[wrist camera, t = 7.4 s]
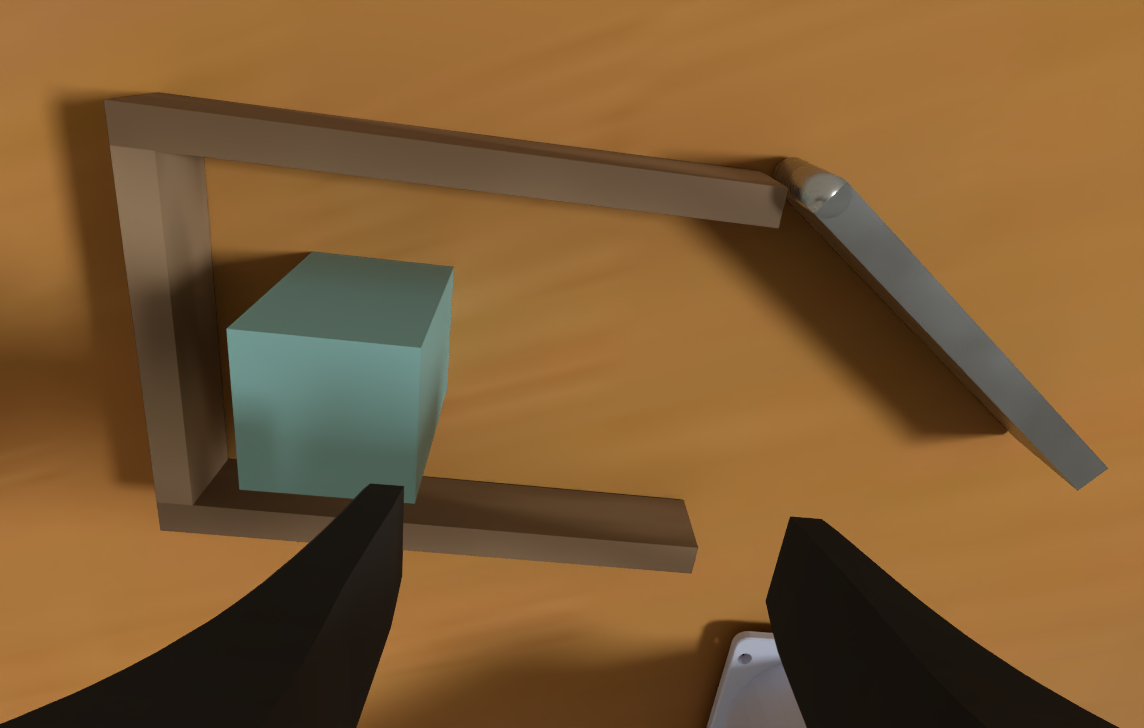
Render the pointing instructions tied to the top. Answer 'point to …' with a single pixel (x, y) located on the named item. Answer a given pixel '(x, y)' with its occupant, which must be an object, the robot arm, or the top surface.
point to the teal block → (341, 376)
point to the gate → (935, 317)
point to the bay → (393, 152)
